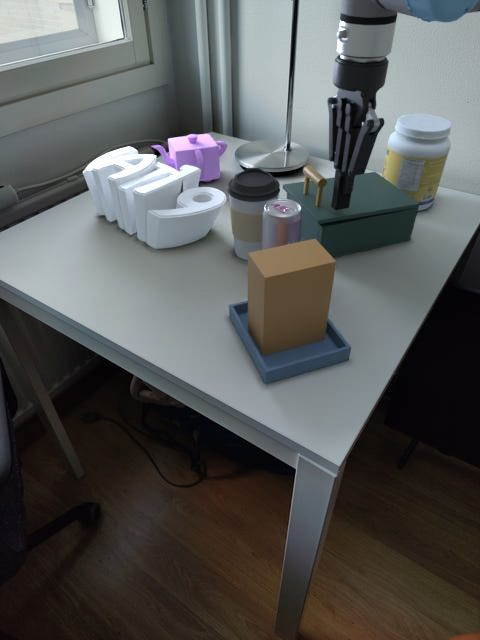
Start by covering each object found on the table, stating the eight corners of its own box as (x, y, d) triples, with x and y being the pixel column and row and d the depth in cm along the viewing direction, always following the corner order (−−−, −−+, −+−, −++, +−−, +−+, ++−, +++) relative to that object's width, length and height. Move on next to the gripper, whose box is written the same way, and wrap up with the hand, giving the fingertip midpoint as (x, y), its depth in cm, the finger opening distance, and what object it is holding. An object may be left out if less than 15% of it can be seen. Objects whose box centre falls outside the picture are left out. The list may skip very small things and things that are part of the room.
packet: (324, 339, 69) (336, 261, 60) (262, 356, 66) (264, 277, 57) (306, 314, 73) (315, 238, 64) (247, 330, 71) (247, 252, 61)
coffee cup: (278, 264, 84) (282, 187, 75) (228, 264, 85) (226, 187, 75) (275, 238, 91) (279, 164, 81) (230, 238, 91) (227, 164, 81)
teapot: (161, 194, 106) (155, 151, 99) (150, 170, 116) (144, 129, 109) (235, 183, 110) (234, 140, 103) (219, 161, 120) (217, 120, 113)
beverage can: (277, 272, 83) (281, 194, 73) (302, 286, 79) (310, 207, 69) (253, 286, 80) (254, 207, 70) (279, 302, 76) (284, 221, 66)
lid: (317, 224, 80) (322, 191, 76) (282, 188, 90) (285, 157, 86) (418, 207, 85) (428, 175, 82) (374, 175, 96) (380, 145, 92)
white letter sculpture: (78, 201, 104) (66, 154, 97) (140, 179, 112) (133, 135, 105) (170, 266, 84) (163, 214, 77) (237, 233, 93) (236, 184, 86)
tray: (348, 359, 66) (351, 347, 65) (265, 384, 63) (265, 372, 61) (302, 298, 77) (304, 286, 75) (229, 316, 74) (228, 304, 72)
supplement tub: (381, 184, 109) (396, 109, 97) (435, 192, 105) (457, 115, 94) (372, 207, 100) (388, 128, 89) (431, 217, 97) (455, 135, 86)
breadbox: (318, 261, 85) (322, 227, 81) (284, 222, 96) (286, 191, 91) (410, 240, 90) (418, 207, 86) (368, 206, 101) (374, 175, 96)
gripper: (317, 48, 69) (304, 194, 85) (363, 69, 60) (339, 229, 75) (361, 44, 71) (340, 188, 87) (412, 63, 62) (379, 220, 77)
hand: (340, 207), depth 81 cm, fingers closed
